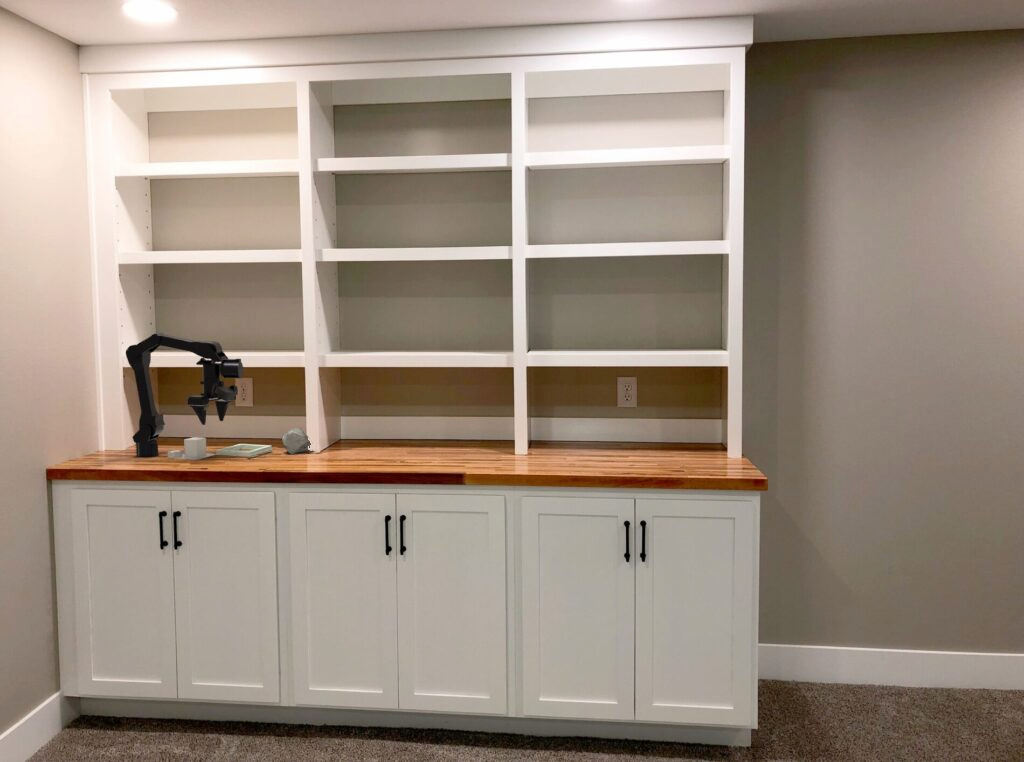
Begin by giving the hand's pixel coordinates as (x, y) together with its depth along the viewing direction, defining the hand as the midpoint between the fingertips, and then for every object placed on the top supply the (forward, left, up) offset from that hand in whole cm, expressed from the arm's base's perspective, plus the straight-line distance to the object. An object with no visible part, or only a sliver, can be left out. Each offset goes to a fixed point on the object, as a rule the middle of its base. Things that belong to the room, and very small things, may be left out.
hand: (212, 422), depth 291 cm
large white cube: (-5, -3, -11) cm, 13 cm away
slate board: (-6, -3, -12) cm, 14 cm away
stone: (+22, +17, -13) cm, 30 cm away
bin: (+7, +8, -12) cm, 16 cm away
